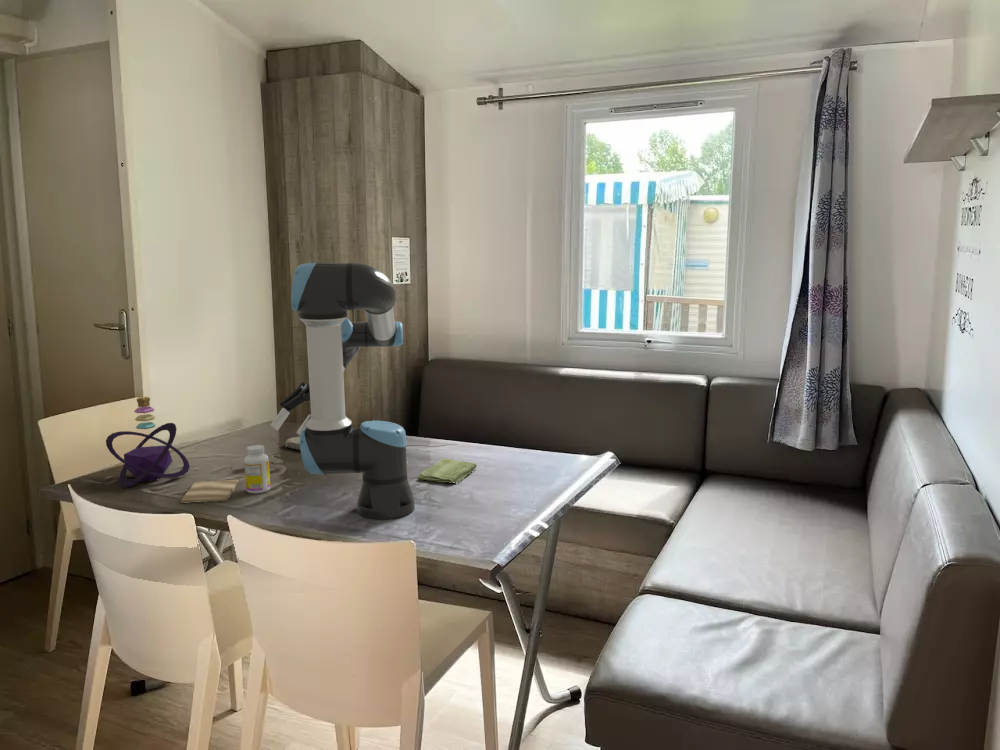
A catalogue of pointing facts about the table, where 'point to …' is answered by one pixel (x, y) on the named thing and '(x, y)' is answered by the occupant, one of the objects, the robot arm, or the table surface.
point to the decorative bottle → (147, 450)
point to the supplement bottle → (257, 470)
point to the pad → (210, 491)
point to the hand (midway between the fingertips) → (286, 431)
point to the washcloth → (447, 471)
